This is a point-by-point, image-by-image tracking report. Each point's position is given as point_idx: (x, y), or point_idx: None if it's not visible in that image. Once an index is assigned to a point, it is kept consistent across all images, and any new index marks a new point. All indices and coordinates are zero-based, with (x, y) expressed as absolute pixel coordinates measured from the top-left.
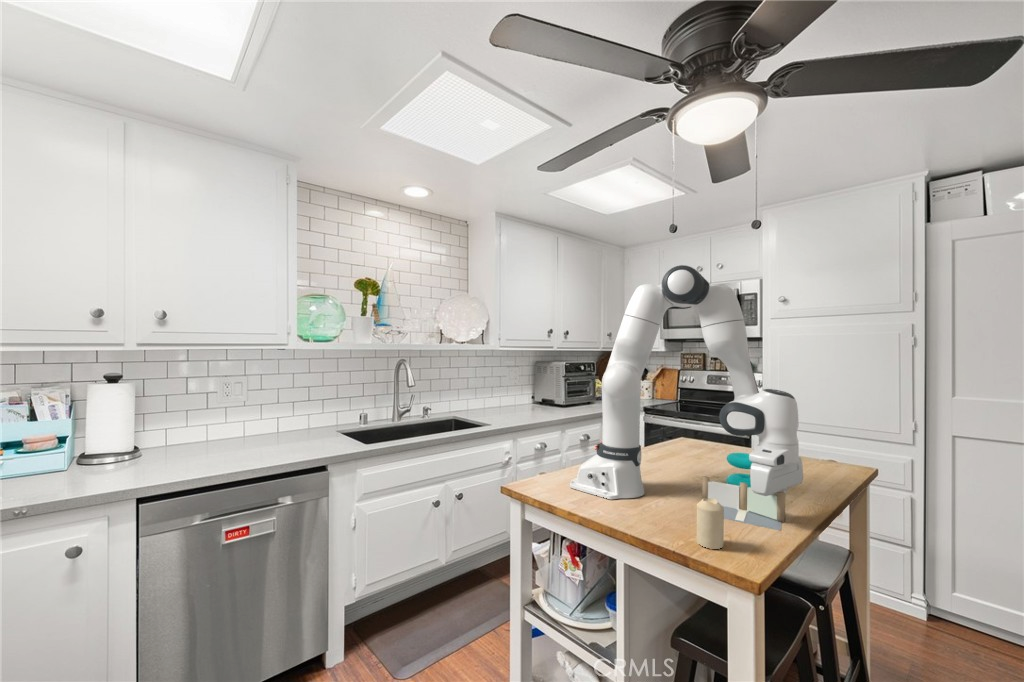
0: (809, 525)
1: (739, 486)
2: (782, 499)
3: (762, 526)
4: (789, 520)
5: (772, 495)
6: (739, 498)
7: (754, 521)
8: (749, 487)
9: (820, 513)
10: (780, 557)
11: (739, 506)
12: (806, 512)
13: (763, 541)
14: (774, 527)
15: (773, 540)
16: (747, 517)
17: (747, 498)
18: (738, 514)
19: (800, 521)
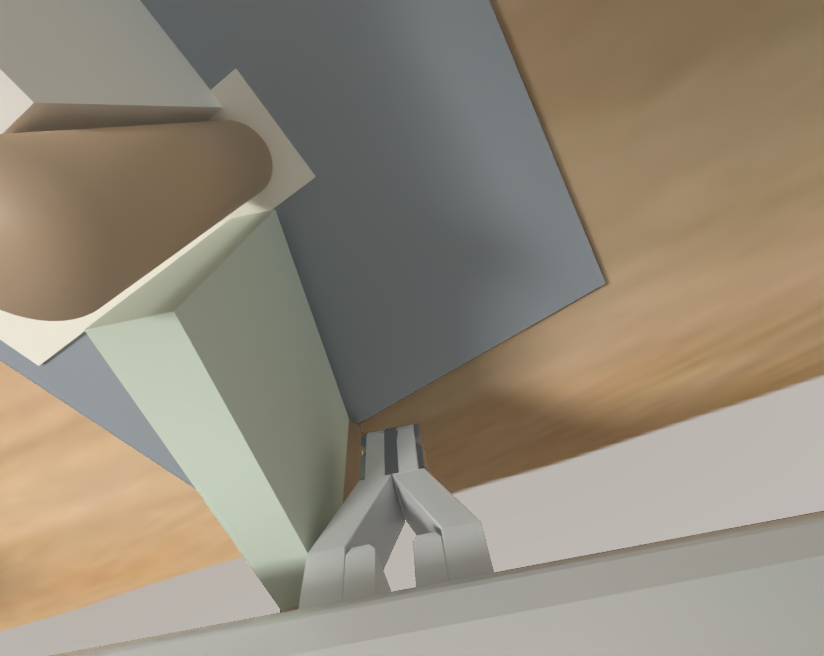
0: (465, 481)
1: (2, 133)
2: None
3: (140, 449)
4: (430, 414)
5: (265, 582)
6: (163, 115)
7: None
8: (151, 328)
9: (728, 398)
10: (8, 627)
11: (213, 111)
12: (679, 363)
13: (22, 541)
14: None
15: (92, 543)
16: None
17: (180, 262)
18: None
19: (478, 439)
